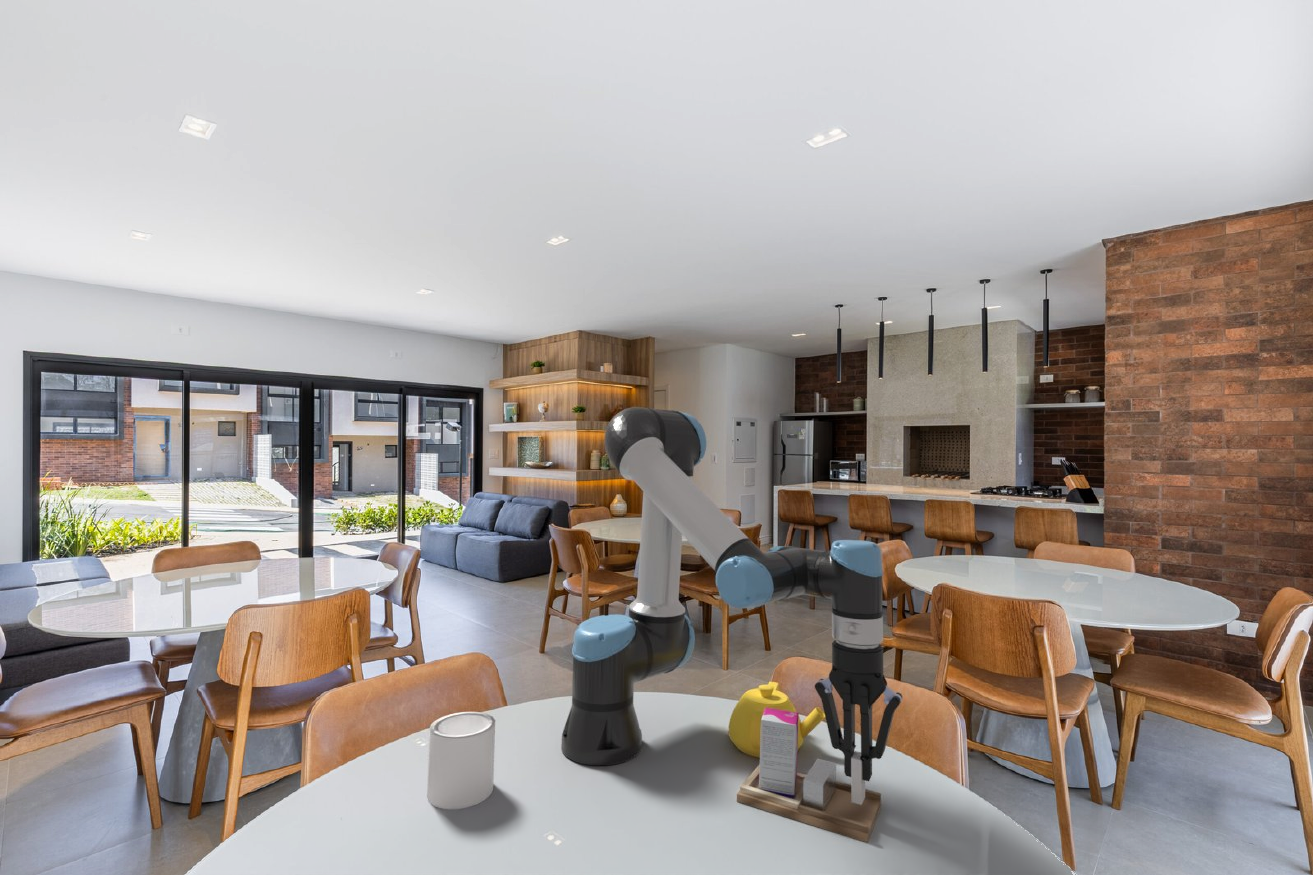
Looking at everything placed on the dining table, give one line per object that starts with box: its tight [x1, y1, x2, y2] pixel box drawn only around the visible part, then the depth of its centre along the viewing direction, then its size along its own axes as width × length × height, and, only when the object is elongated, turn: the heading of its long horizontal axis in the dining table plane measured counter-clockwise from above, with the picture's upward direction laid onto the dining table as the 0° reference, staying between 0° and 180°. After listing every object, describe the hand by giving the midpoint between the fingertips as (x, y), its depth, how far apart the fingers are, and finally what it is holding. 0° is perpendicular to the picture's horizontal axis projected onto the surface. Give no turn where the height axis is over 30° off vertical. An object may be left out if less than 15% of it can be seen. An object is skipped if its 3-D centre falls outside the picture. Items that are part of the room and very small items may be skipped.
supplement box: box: [759, 708, 799, 798], centre depth 99 cm, size 6×6×12 cm
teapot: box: [727, 680, 826, 759], centre depth 116 cm, size 20×18×11 cm
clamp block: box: [802, 758, 837, 812], centre depth 96 cm, size 4×8×4 cm, turn 150°
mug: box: [426, 711, 496, 810], centre depth 100 cm, size 14×10×11 cm
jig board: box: [736, 763, 882, 843], centre depth 96 cm, size 20×11×2 cm, turn 60°
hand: (858, 799), depth 92 cm, fingers closed
